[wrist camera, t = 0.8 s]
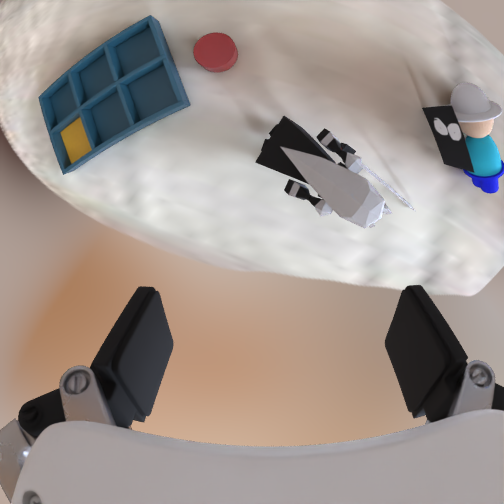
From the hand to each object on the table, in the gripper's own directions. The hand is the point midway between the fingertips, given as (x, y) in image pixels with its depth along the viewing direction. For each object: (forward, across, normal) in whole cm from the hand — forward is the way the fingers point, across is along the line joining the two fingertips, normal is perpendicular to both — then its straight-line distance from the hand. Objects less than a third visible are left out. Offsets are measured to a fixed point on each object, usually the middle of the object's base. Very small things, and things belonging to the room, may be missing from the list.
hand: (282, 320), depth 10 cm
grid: (+25, +21, -13) cm, 36 cm away
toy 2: (+26, -27, -8) cm, 38 cm away
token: (+25, +6, -16) cm, 30 cm away
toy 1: (+26, -9, 0) cm, 27 cm away
